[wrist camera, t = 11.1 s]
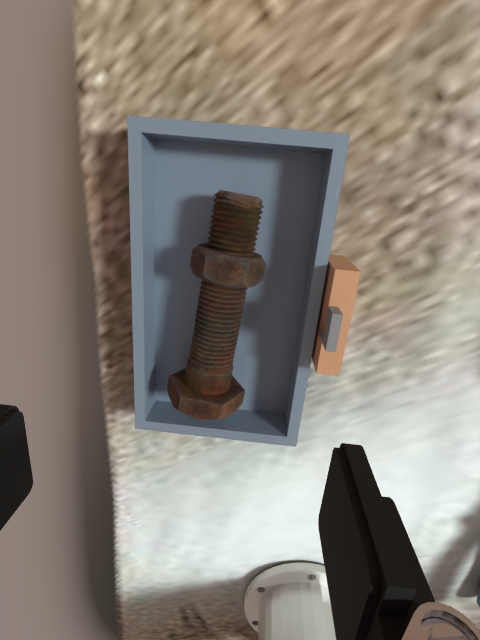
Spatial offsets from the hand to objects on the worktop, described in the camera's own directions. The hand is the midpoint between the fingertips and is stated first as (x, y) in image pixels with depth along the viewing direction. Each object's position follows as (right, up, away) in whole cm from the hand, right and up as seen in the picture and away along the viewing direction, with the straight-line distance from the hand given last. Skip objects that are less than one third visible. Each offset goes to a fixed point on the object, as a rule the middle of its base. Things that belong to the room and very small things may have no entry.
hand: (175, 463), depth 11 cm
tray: (+1, +6, +17) cm, 18 cm away
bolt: (+1, +6, +16) cm, 17 cm away
